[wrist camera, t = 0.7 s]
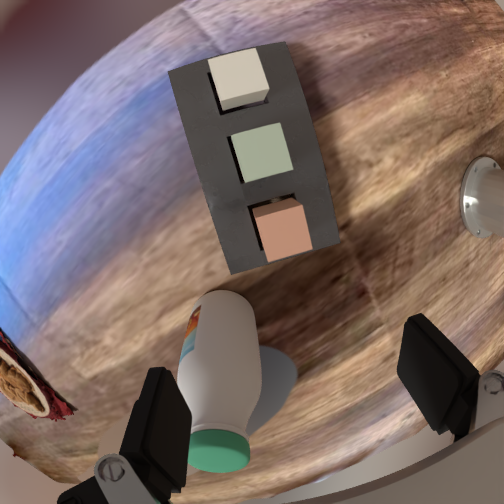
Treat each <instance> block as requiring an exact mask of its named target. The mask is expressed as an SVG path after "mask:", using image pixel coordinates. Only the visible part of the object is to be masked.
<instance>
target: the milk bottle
mask: <svg viewBox="0 0 504 504" xmlns="http://www.w3.org/2000/svg"><path fill="white" fill-rule="evenodd" d="M177 381H178V382H177V383H178V387H179V389H180V391H181V393H182V395H183V397H184V399H185V401H186V403H187V405H188V407H189V409H190V411H191V413H192V427H191V436H190V445H189V454H188V463H189V464H190V465H192V466H194V467H195V468H198V469H200V470H204V471H208V472H218V473H223V472H232V471H236V470H239V469H242V468H243V467H245V466H246V465H247V464H248V463H249V460H250V447H249V437H248V435H247V433H246V432H245V430H246V426H247V422H248V420H249V417H250V415H251V413H252V412H253V410H254V408H255V406H256V404H257V402H258V399H259V396H260V392H261V382H262V376H261V362H260V354H259V345H258V337H257V329H256V322H255V316H254V311H253V308H252V306H251V305H250V303H249V302H248V301H247V300H246V299H245V298H244V297H242V296H241V295H239V294H237V293H235V292H232V291H228V290H216V291H212V292H209V293H207V294H205V295H203V296H202V297H200V298H199V299H198V300H197V301H196V303H195V304H194V306H193V309H192V312H191V315H190V319H189V323H188V327H187V331H186V335H185V339H184V343H183V348H182V352H181V357H180V362H179V368H178V380H177Z"/></svg>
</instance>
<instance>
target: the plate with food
mask: <svg viewBox="0 0 504 504" xmlns="http://www.w3.org/2000/svg"><path fill="white" fill-rule="evenodd" d="M0 335H1V336H2V337H3V340H2V341H3V342H2V341H0V392H1V393H2V394H4V395H5V396H6V398H7V399H8V400H10V401H11V402H12V403H13V404H14V406H17V407H19V408H20V409H22V410H24V411H25V412H26V413H28V414H29V415H31V416H32V417H33V418H34V419H36V418H37V417H41V418H50V419H51V420H53V419H55V421H56V422H57V419H61V420H62V419H63V420H66V419H65V418H63V417H62V416H65V415H68V416H69V415H72V414H73V415H74V413H73V412H72V411H71V410H70V408H69V407H67V406H66V403H65V402H61V401H60V400H59V399H58V398H57V397H56V396H55V394H54V393H55V391H53V390H52V388H51V389H50V388H48V387H47V386H46V385H45V383H43V382H42V380H40V378H38V377H37V376H36V374H34V373H33V370H32V369H30V370H32V371H31V372H32V373H33V374H34V375H35V377H36V378H37V380H35V379H34V378H33V377H31V376H30V375H29V374H28V373H27V372H26V371H25V370H24V369H23V368H22V367H21V365H20V364H19V363H18V361H17V358H18V357H17V355H19V354H18V352H17V351H16V350H15V349H14V347H13V346H12V345H11V342H10V341H9V340H8V339H6V338H5V337H4V336H3V334H2V333H1V332H0ZM2 337H1V338H2ZM5 343H6V344H7V345H6V344H5ZM12 349H13V350H14V351H15V353H16V354H17V355H16V354H15V353H14V351H13V350H12ZM19 356H20V355H19ZM20 357H21V356H20ZM22 359H23V358H22ZM29 368H30V367H29ZM56 411H58V413H59V414H58V413H57V412H56ZM56 418H57V419H56Z"/></svg>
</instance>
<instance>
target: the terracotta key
mask: <svg viewBox="0 0 504 504" xmlns="http://www.w3.org/2000/svg"><path fill="white" fill-rule="evenodd" d="M253 213H254V216H255V220H256V223H257V227H258V230H259V234H260V237H261V241H262V244H263V247H264V251H265V254H266V257H267V260H268V262H271V261H274V260H278V259H281V258H285V257H288V256H291V255H295V254H298V253H302V252H305V251H308V250H312V244H311V239H310V235H309V231H308V226H307V222H306V218H305V214H304V209H303V205H302V204H300V203H299V202H297V201H296V200H295V199H293V198H289V199H285V200H282V201H278V202H275V203H271V204H267V205H264V206H260V207H257V208H254V209H253Z"/></svg>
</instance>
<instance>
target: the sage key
mask: <svg viewBox="0 0 504 504" xmlns="http://www.w3.org/2000/svg"><path fill="white" fill-rule="evenodd" d="M231 138H232V142H233V145H234V149H235V152H236V155H237V159H238V162H239V165H240V169H241V172H242V176H243V179H244V181H245V183H246V182H249V181H253V180H257V179H260V178H264V177H267V176H271V175H275V174H278V173H282V172H286V171H290V170H293V166H292V163H291V159H290V155H289V152H288V148H287V145H286V141H285V138H284V134H283V131H282V127H281V124H280V123H275V124H271V125H267V126H263V127H259V128H255V129H252V130H248V131H244V132H240V133H237V134H233V135H231Z"/></svg>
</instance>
